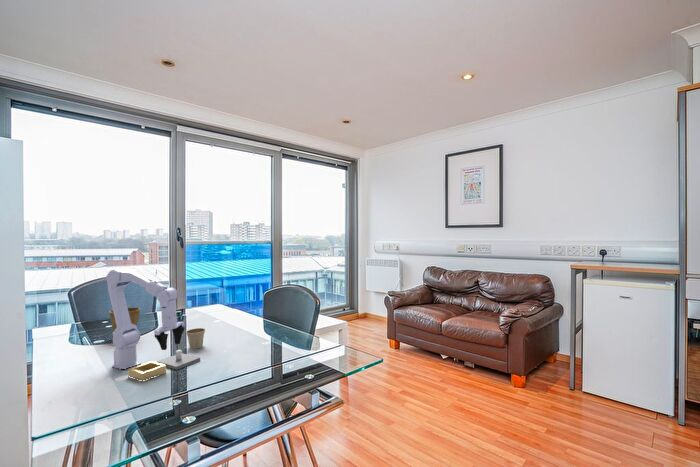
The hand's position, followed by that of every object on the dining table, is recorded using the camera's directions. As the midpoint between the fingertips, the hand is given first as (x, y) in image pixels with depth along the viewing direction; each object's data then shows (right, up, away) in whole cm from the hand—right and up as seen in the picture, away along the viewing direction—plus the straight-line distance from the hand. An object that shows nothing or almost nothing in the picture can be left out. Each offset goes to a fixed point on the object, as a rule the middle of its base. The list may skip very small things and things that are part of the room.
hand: (171, 346), depth 151 cm
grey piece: (0, -10, +7) cm, 12 cm away
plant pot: (-52, -11, +49) cm, 72 cm away
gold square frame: (-7, -10, -6) cm, 14 cm away
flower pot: (-2, -10, +29) cm, 31 cm away
